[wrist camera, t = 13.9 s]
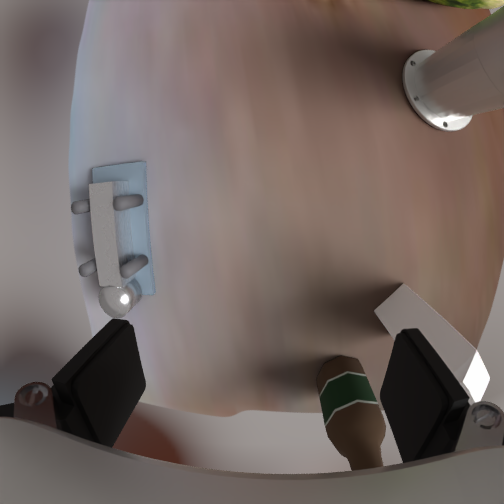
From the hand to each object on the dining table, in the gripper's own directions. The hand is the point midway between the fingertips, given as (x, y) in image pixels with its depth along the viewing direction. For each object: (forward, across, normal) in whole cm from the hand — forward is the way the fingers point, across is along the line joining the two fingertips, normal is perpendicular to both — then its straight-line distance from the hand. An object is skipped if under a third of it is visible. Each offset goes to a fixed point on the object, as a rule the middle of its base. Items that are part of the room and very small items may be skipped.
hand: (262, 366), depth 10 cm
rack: (+28, +20, +1) cm, 35 cm away
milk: (+29, -19, +12) cm, 37 cm away
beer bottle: (+29, -11, +23) cm, 38 cm away
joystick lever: (+27, +20, +3) cm, 34 cm away
